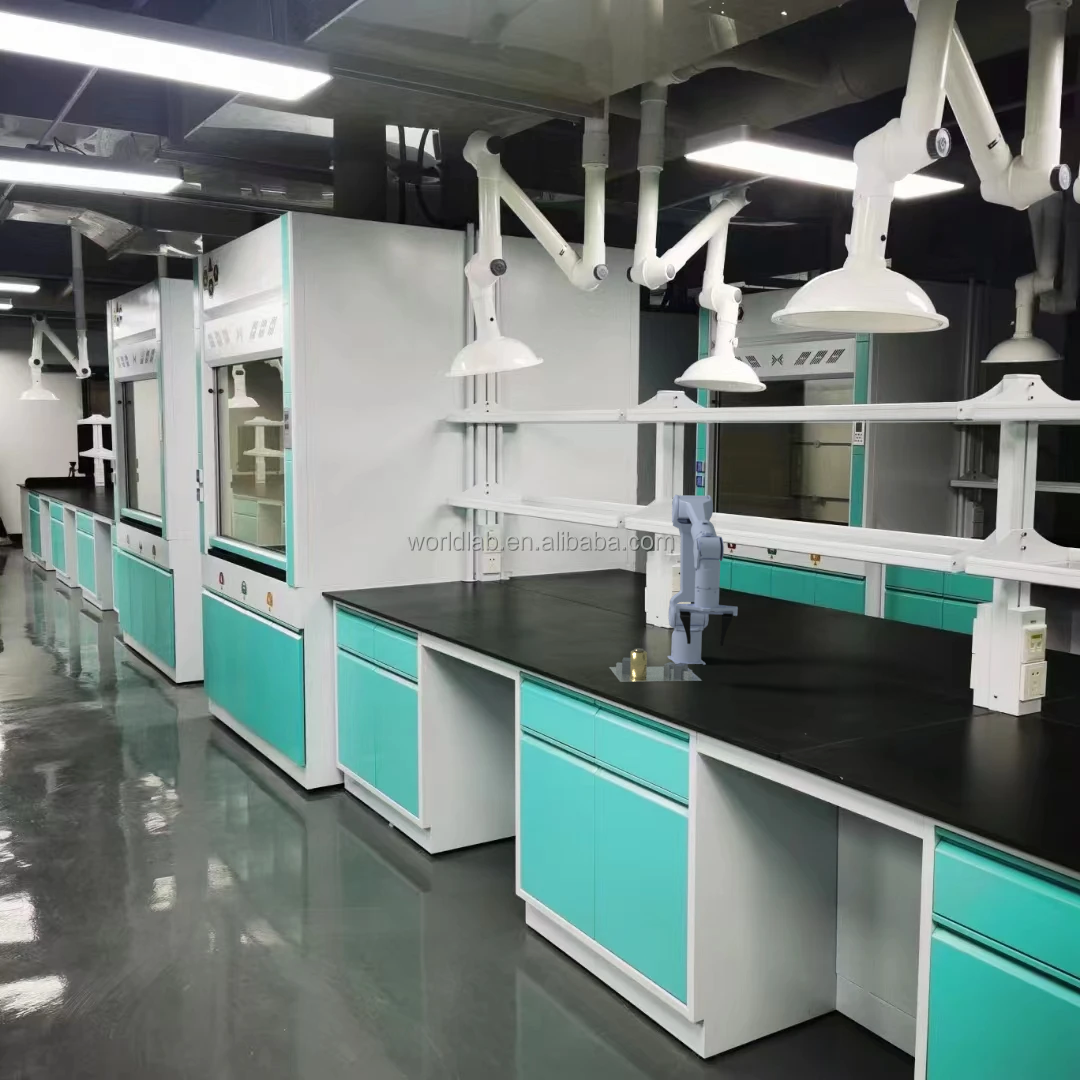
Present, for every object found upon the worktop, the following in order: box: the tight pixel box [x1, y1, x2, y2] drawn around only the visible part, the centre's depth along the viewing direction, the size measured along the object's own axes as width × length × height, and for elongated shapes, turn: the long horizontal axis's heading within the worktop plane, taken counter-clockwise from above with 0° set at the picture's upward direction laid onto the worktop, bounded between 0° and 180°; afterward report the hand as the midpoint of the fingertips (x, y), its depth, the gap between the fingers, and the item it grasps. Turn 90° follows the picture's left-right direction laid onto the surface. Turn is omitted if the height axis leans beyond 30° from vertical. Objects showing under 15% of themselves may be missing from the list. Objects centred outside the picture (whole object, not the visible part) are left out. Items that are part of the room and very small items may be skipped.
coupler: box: [630, 647, 648, 680], centre depth 247 cm, size 4×4×7 cm
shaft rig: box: [608, 657, 703, 683], centre depth 252 cm, size 15×20×4 cm
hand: (705, 643), depth 243 cm, fingers open, 7 cm apart
